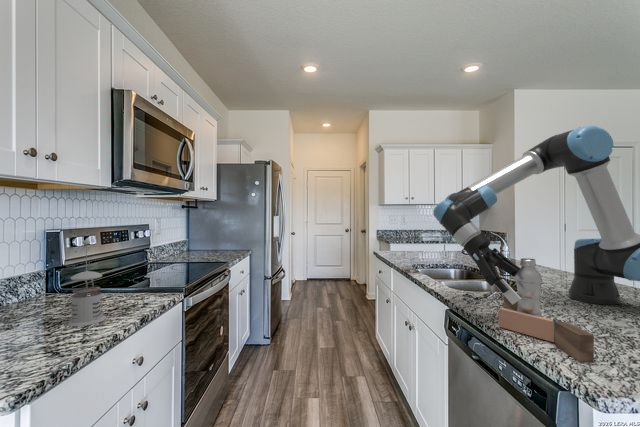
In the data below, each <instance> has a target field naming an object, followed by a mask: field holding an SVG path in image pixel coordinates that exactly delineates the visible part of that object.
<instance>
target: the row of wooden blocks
mask: <svg viewBox="0 0 640 427" xmlns="http://www.w3.org/2000/svg"><path fill="white" fill-rule="evenodd" d="M503 308H505V309H509V310H514V311H517V309H518V301H517V302H516V303H514V304H513V305H512V304H511V303H510V301H509V300H508V299H507V298H506V297H505V296H504V295H503ZM554 347H557V348H558V349H560V350H561V351H562V352H564V353H565V354H567V355H569V356H570V357H571V358H573V359H575V360H577V362H581V363H585V362H586V363H594V361H595V358H594V357H595V356H594V355H595V353H594V351H595V335H594V334H592V333H590V332H589V331H586V330H584V329H582V328H580V327H579V326H576V325H574V324H573V323H570V322H567V321H562V322H555V343H554Z"/></svg>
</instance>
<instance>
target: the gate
mask: <svg viewBox="0 0 640 427" xmlns="http://www.w3.org/2000/svg"><path fill="white" fill-rule="evenodd" d="M555 322H563V321H562V320H561V319H557V318H554V319H551V318H546V317H543V316H542V317H539V316H534V315H530V314H526V313H522V312H518V311H514V310H509V309H505V308H504V307H500V308H498V327H499V328H502V329H506V330H510V331H513V332H517V333H520V334H524V335H527V336H530V337H534V338H537V339H541V340H544V341H547V342H551V343H554V344H555Z"/></svg>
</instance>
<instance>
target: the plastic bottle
mask: <svg viewBox="0 0 640 427" xmlns="http://www.w3.org/2000/svg"><path fill="white" fill-rule="evenodd" d="M519 261H520V263H519V264H520V266H521V267H519V268H520V269H519V271H518V272H517V274H516V276H515V278H516V281H515V284H516V289H517V294H518V295H519V297H520V298H521V299H520V300H519V301H518V309H517V311H518V312H522V313H526V314H530V315H534V316H539V317H543V315H542V310H541V290H542V282H543V278H542V275H541V273H540V272H539V271H538V269H536V267H537V264H536V258H526V257H525V258H524V257H523V258H520V260H519Z"/></svg>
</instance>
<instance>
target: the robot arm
mask: <svg viewBox="0 0 640 427" xmlns="http://www.w3.org/2000/svg"><path fill="white" fill-rule="evenodd" d="M612 148H614V140H613V137H612V135H611V134H610V133H609V132H608V131H607V130H606V129H605V128H602V127H600V126H596V125H587V126H582V127H577V128H574V129H570V130H568V131H565V132H562V133H558V134H555V135H552V136H550V137H549V138H546V139H545V140H543V141H542V142H540V143H538V144H537V145H534V146H533V147H531V148H530V149H528V150H526V151H525V152H523V153H522V156H521V157H520V158H517V159H516V160H514V161H512V162H510V163H508V164H507V165H504V166H503V167H502V168H499V169H497V170H496V171H494V172H492V173H490V174H488V175H486V176H485V177H483V178H481V179H480V180H479V179H478V180H477V181H476V182H473V183H472V184H470V185H469V186H467V187H465V188H463V189H461V190H458V191H457V192H453V193H450V194H449V195H447V197H445V200H442V201H440V202H439V203H438V204H437V205H436V206H435V208H433V213H432V214H433V216H434V217H435V219H436V220H437V221H438V222H439V225H441V226H442V227H443V228H444V229H445V230H446V231H447V233H449V235H451V237H452V238H453V239H454V240H455V243H456V244H458V245H460V246H461V247H463V250H464V251H465V253H467V255H469V257H471V259H472V260H473V261H474V262H475V264H476V265H477V268H478V269H479V271H480V273H481V274H482V276H483V277H484V279H485V281H486V283H487V284H488V285H489V286H490V287H493V286H495V287H496V289H498V291H499V292H501V293H502V295H503V297H504V296H505V297H506V298H507V299H508V300H509V301H510V303H511V304H512V305H513V304H514V303H516V302H517V301H519V300H520V299H521V298H520V297H519V295H518V292H516V291H515V290H514V288H512V287H511V285H510V284H509V283H507V281H506V280H505V279H504V278H502V279H501V277H500V275H499V272H498V269H497V268H496V267H498V268H499V269H500V270H502V271H504V272H505V273H506V274H508V275H510V276H512V280H514V281H515V282H516V278H515V276H516V274H517V272H518V271H519V269H520V268H521V267H520V266H519V265H517V264H515V263H514V262H513V261H511V259H509V258H508V257H507V256H505V255H504V254H502V253H501V252H500V251H499V250H498V248H497V247H496V248H495V247H494V248H493V249H491V248H490V247H489V246H490V245H491V240H490V239H489V238H488V237H487V235H485V233H482V231H481V230H480V228H478V227H477V225H476V224H474V222H473V221H472V219H474V218H476V217H477V216H479V215H481V214H482V213H484V212H486V211H487V210H489V209H491V208H492V207H493V206H494V205H496V204H497V202H498V196H497V194H499V193H501V192H503V191H505V190H507V189H509V188H510V187H512V186H514V185H516V184H517V183H520V182H522V181H524V180H525V179H527V178H529V177H531V176H533V175H540V174H542V173H544V172H547V171H549V170H552V169H556V168H565V171H566V173H567V175H569V176H573V177H574V178H575V180H576V182H577V184H578V186H579V189H580V191H581V193H582V197H583V199H584V201H585V203H586V205H587V207H588V209H589V212H590V215H591V217H592V219H593V221H594V224H595V226H596V229H597V231H598V233H599V236H600V238H598V237H597V238H580V239H579V238H578V239H577V240H576V241H574V247H573V263H574V264H573V266H574V267H573V270H574V274H573V275H574V276H573V279H572V282H571V284H570V286H569V289H568V297H569V298H570V299H573V300H576V301H579V302H584V303H590V304H596V305H609V306H612V305H613V306H614V305H620V304H621V295H620V293H619V290H618V288H617V284H616V282H615V277H616V278H621V279H625V280H628V281H630V282H632V281H636V282H640V234H639V233H636V232H635V229H634V227H633V226H632V223H631V220H630V218H629V216H628V213H627V211H626V209H625V206H624V204H623V202H622V200H621V197H620V194H619V192H618V191H617V187H616V185H615V184H614V181H613V178H612V177H611V173H610V172H609V169H608V165H609V163H610V162H611V159H610V156H611V154H612V152H613V149H612Z"/></svg>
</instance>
